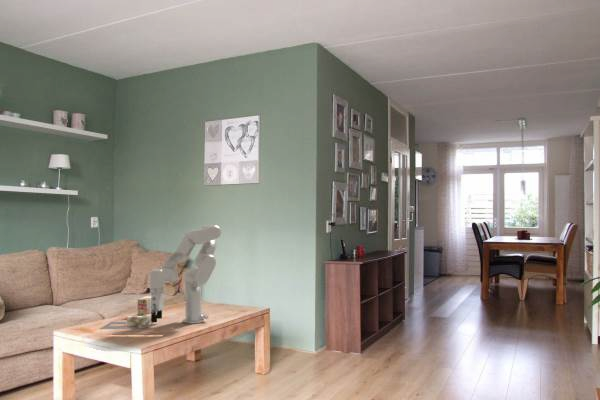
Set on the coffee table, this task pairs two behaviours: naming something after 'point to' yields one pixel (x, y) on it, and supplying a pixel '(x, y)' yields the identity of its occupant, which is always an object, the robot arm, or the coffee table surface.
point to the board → (121, 326)
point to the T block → (139, 320)
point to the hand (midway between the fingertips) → (156, 320)
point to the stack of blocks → (144, 306)
